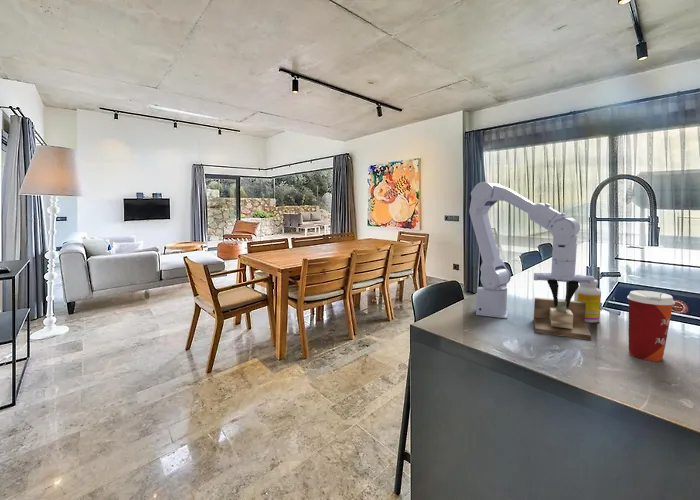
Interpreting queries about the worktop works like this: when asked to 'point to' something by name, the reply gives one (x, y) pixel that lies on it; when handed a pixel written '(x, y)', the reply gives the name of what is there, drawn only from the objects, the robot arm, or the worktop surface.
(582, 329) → the cleat board
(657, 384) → the worktop surface
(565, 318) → the saddle block
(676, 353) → the worktop surface
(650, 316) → the coffee cup
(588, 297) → the supplement bottle
